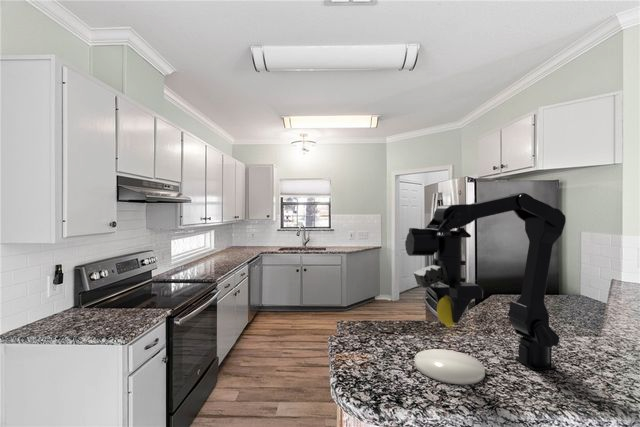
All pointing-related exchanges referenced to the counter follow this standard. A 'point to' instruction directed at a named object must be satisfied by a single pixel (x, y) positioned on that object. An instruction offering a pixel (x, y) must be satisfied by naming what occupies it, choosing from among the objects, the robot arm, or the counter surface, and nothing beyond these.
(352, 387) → the counter surface
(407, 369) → the counter surface
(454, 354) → the plate
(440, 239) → the robot arm
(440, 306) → the lemon
